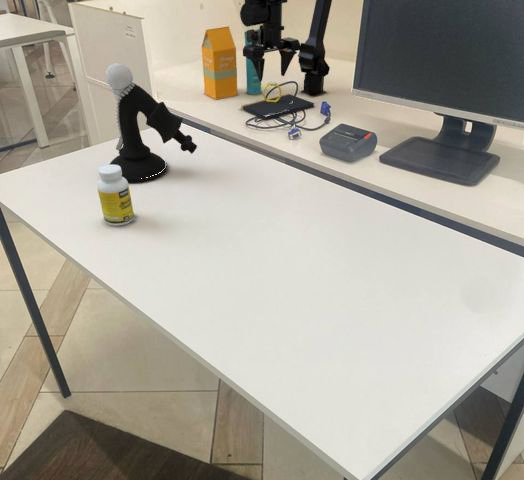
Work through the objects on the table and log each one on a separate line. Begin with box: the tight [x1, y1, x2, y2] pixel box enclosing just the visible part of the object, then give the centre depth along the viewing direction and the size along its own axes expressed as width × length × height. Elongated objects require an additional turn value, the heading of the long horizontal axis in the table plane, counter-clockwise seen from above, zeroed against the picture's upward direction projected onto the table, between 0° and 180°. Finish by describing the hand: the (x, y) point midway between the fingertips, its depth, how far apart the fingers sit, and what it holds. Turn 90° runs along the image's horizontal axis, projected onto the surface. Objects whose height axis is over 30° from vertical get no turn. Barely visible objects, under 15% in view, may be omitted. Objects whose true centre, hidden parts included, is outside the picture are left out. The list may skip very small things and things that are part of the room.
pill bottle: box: [96, 163, 135, 226], centre depth 113 cm, size 6×6×12 cm
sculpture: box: [105, 62, 198, 184], centre depth 128 cm, size 15×24×25 cm, turn 86°
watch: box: [262, 80, 282, 103], centre depth 171 cm, size 6×3×6 cm, turn 90°
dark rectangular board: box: [240, 93, 315, 121], centre depth 172 cm, size 20×13×1 cm, turn 128°
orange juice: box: [201, 26, 239, 100], centre depth 177 cm, size 8×9×20 cm
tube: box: [244, 28, 263, 96], centre depth 178 cm, size 7×5×19 cm, turn 134°
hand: (271, 78), depth 169 cm, fingers open, 9 cm apart
